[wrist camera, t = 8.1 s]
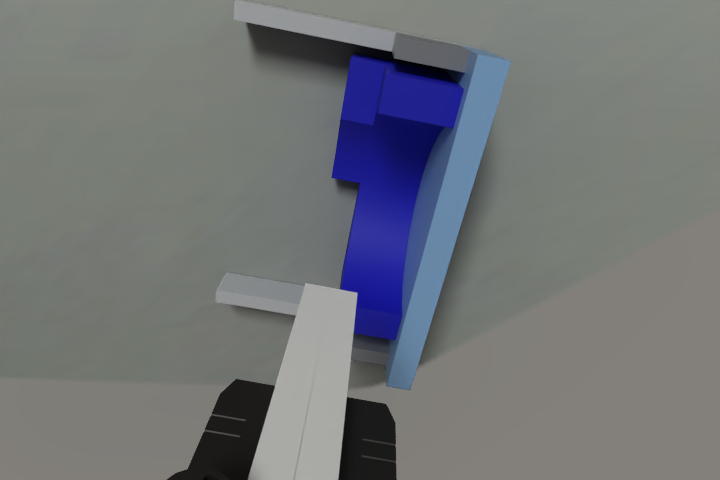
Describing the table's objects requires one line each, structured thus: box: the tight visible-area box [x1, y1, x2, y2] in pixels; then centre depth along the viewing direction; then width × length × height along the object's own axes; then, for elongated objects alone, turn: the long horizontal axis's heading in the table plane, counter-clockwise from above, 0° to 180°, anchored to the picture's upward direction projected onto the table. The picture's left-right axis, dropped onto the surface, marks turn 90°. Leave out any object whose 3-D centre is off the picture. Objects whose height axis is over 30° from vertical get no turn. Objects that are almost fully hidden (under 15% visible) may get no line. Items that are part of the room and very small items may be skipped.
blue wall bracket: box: [216, 0, 511, 390], centre depth 23 cm, size 11×16×6 cm
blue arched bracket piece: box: [332, 53, 464, 340], centre depth 23 cm, size 12×4×6 cm, turn 169°
